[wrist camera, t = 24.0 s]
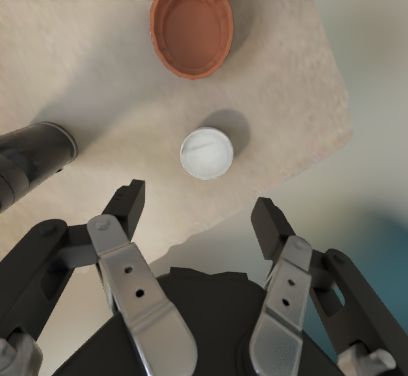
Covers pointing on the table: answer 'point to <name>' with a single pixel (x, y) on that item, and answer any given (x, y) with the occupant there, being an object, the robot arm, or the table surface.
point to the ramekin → (206, 153)
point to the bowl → (191, 35)
